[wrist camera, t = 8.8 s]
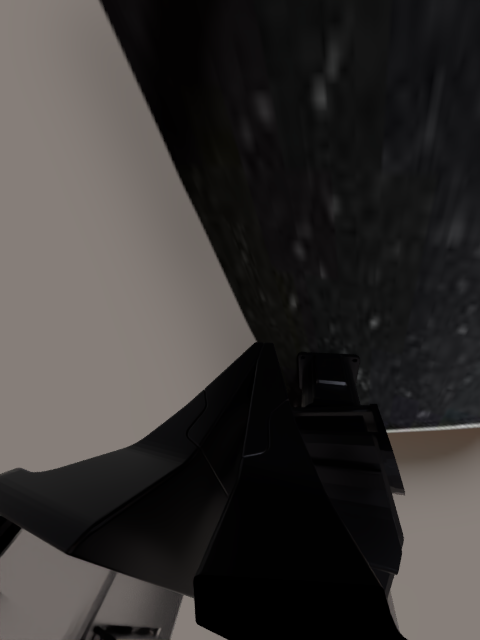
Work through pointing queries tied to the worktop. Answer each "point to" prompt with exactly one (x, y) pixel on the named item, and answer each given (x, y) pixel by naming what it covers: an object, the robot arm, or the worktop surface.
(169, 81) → the worktop surface
